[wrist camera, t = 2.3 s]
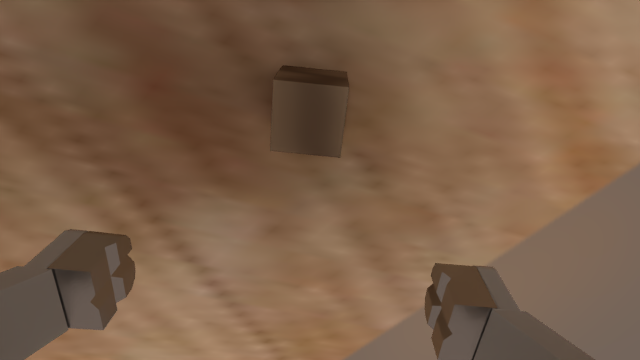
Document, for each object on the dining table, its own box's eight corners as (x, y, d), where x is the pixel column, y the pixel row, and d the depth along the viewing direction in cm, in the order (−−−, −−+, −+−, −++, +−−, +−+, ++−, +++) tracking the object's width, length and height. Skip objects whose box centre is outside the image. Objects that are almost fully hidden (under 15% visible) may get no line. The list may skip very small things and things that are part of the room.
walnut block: (279, 126, 29) (270, 150, 25) (282, 65, 27) (273, 79, 23) (339, 132, 29) (340, 157, 25) (346, 71, 27) (349, 87, 23)
